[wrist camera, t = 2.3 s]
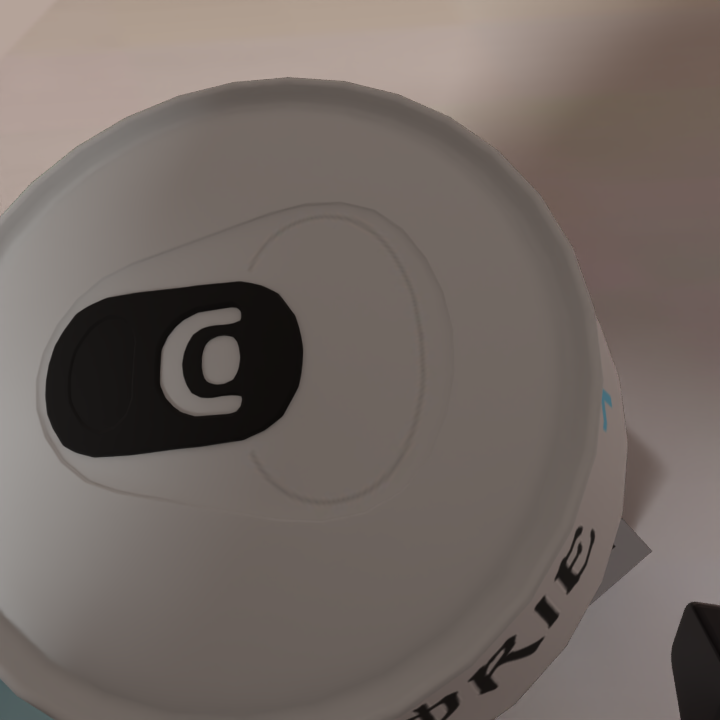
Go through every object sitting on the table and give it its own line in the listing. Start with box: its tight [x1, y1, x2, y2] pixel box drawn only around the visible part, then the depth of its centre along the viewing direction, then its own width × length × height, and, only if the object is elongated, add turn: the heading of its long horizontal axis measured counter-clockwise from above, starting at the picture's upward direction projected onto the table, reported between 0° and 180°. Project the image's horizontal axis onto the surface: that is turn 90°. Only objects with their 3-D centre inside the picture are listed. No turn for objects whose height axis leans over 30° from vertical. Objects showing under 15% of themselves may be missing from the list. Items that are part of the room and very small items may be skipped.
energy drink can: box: [0, 77, 628, 720], centre depth 11 cm, size 6×6×15 cm
